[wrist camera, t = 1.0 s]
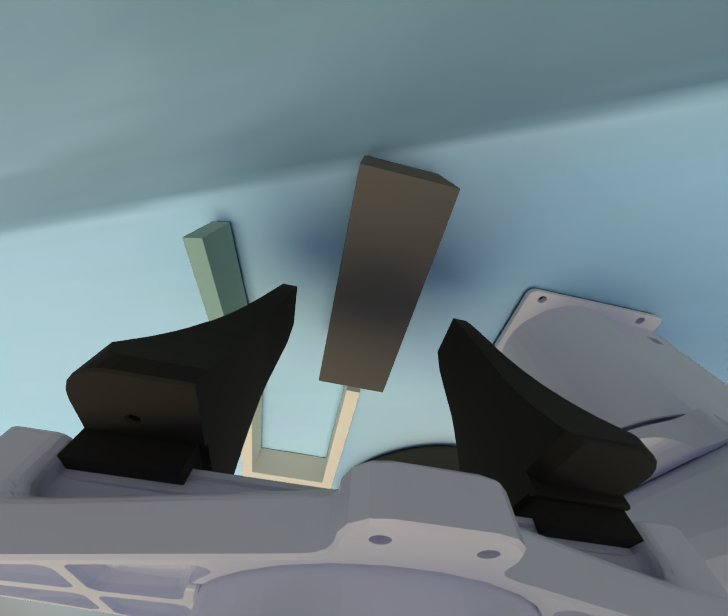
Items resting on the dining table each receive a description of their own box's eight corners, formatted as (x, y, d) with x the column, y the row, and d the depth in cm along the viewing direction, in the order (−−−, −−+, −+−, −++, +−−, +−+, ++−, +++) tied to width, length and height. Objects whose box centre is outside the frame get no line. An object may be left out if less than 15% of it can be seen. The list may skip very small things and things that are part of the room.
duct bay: (361, 368, 23) (359, 392, 21) (333, 464, 31) (330, 489, 28) (250, 347, 22) (237, 370, 20) (251, 451, 30) (242, 475, 28)
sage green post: (211, 221, 16) (180, 237, 14) (231, 222, 16) (203, 238, 14) (242, 346, 22) (224, 374, 19) (258, 347, 21) (242, 375, 19)
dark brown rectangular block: (437, 173, 15) (460, 188, 11) (381, 341, 21) (382, 392, 17) (365, 155, 15) (360, 163, 10) (330, 330, 21) (318, 380, 17)
